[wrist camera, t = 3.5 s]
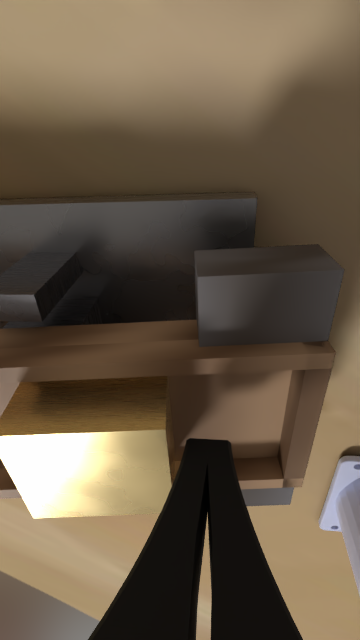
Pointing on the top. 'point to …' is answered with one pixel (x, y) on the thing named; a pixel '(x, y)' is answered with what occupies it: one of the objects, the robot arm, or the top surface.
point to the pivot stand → (112, 255)
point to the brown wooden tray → (215, 361)
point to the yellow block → (90, 446)
